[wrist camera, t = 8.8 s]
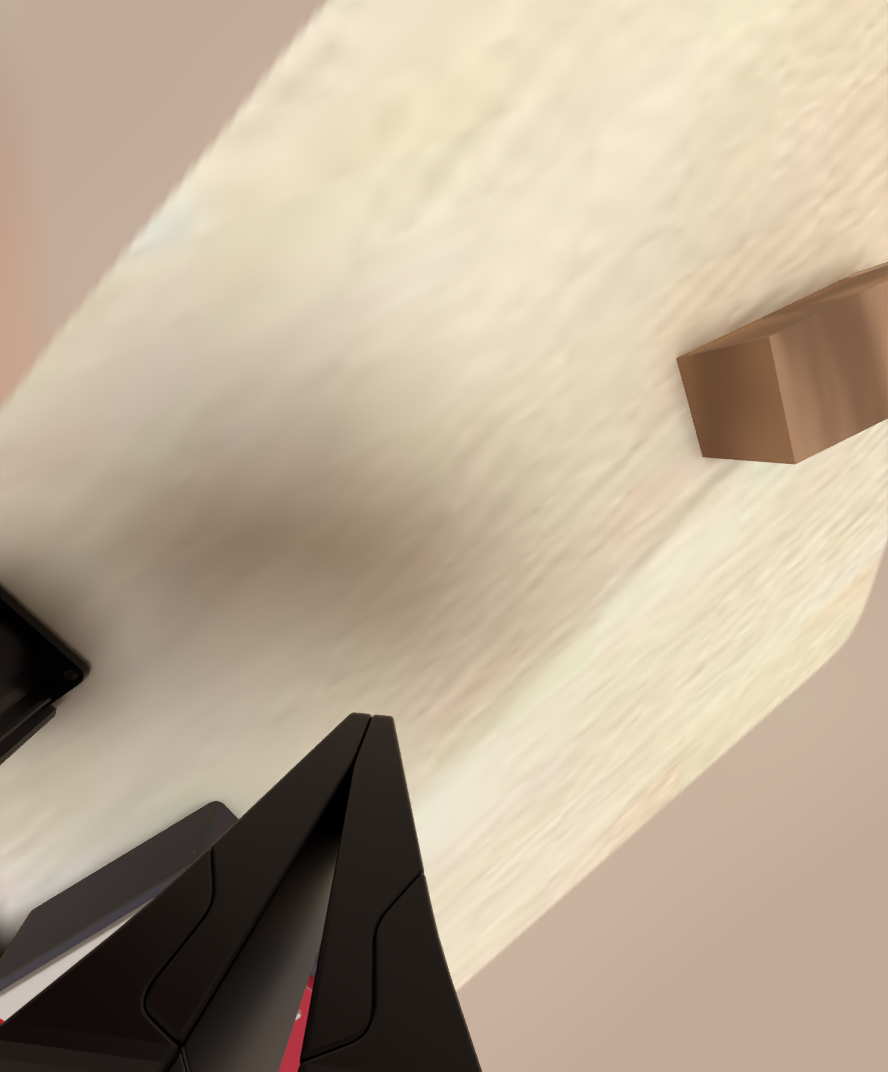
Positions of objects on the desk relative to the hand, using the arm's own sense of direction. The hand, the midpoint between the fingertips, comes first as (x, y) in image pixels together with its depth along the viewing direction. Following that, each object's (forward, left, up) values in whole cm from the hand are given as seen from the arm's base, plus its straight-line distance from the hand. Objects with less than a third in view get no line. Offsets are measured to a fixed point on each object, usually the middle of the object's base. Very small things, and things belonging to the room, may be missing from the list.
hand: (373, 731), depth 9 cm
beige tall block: (+3, +17, -10) cm, 19 cm away
